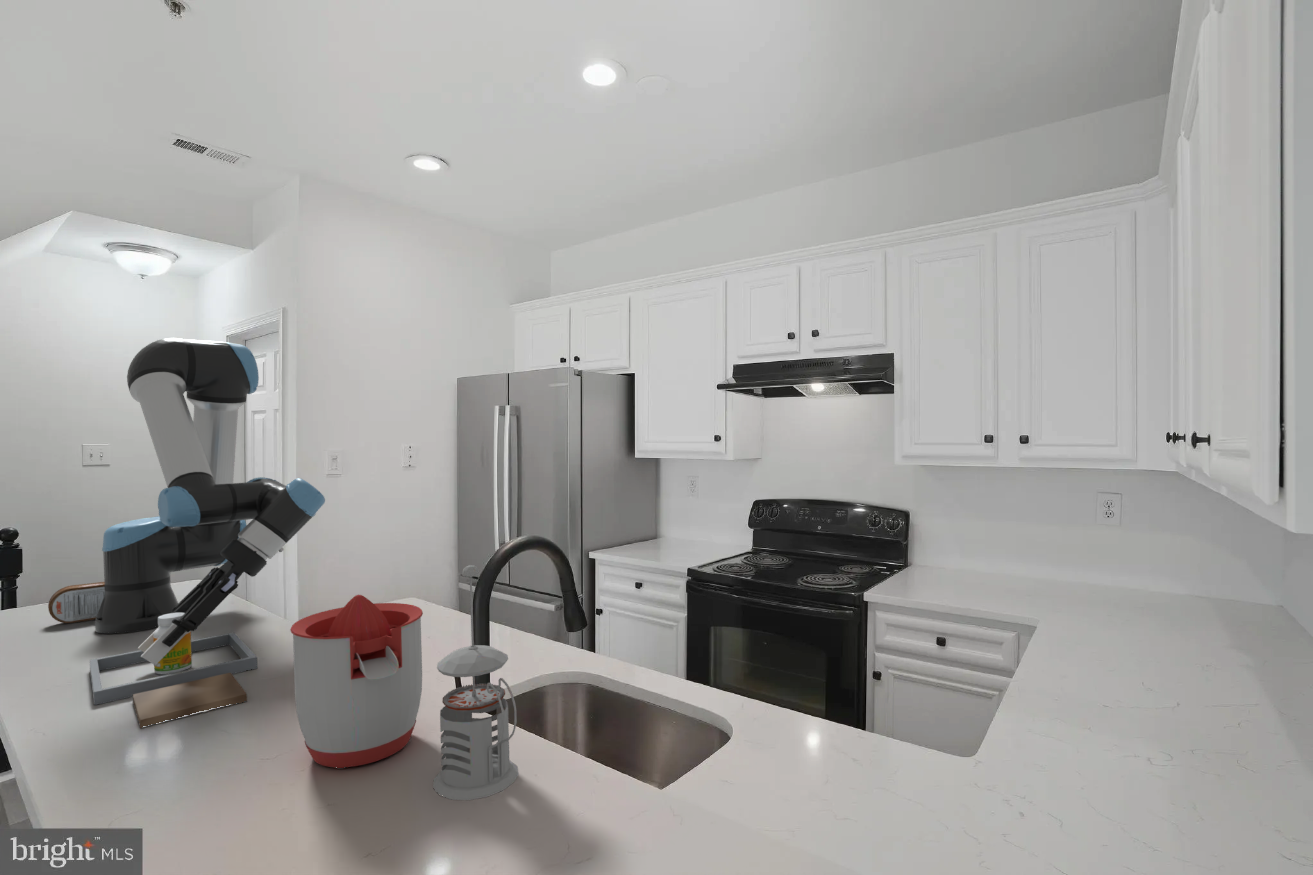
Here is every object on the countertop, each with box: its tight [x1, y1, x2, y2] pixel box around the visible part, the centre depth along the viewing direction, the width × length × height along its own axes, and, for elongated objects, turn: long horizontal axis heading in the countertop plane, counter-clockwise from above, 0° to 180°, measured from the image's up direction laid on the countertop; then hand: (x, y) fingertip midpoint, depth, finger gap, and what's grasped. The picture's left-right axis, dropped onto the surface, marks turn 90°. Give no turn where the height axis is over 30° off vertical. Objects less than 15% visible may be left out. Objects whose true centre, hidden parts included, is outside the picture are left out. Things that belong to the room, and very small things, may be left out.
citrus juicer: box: [289, 594, 424, 769], centre depth 85 cm, size 16×17×20 cm
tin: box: [47, 581, 105, 624], centre depth 153 cm, size 15×3×8 cm, turn 130°
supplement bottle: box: [153, 613, 193, 676], centre depth 117 cm, size 5×5×10 cm
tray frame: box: [89, 632, 258, 706], centre depth 117 cm, size 22×21×2 cm
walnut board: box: [132, 673, 248, 729], centre depth 102 cm, size 13×13×1 cm
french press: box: [432, 564, 519, 801], centre depth 77 cm, size 10×12×25 cm
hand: (146, 656), depth 114 cm, fingers closed on supplement bottle, 5 cm apart
